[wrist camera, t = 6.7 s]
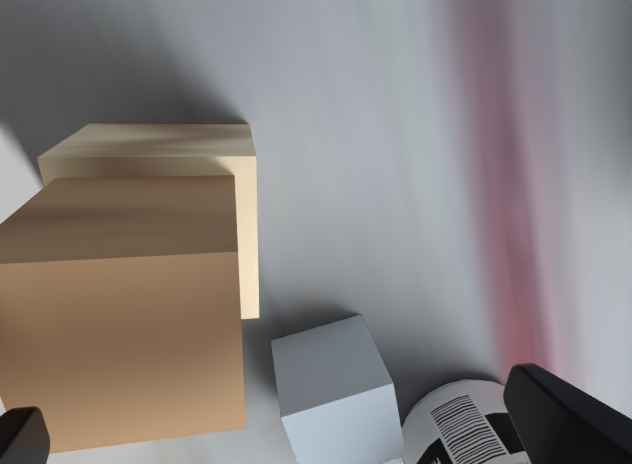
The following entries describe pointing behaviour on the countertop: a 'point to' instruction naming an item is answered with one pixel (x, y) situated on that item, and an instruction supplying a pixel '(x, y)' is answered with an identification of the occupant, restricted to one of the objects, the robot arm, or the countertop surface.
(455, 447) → the supplement can
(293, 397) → the slate cube
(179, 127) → the maple block
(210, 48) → the countertop surface
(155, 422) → the walnut cube
